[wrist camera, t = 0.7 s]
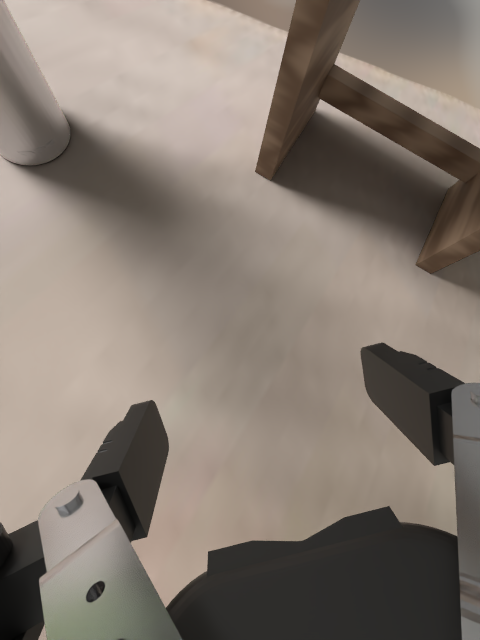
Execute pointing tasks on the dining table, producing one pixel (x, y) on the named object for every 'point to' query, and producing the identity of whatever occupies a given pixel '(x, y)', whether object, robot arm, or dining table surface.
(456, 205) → the stand
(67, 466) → the dining table surface
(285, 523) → the dining table surface
